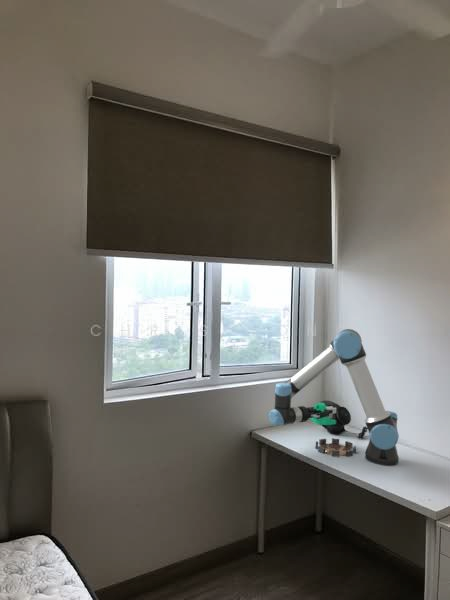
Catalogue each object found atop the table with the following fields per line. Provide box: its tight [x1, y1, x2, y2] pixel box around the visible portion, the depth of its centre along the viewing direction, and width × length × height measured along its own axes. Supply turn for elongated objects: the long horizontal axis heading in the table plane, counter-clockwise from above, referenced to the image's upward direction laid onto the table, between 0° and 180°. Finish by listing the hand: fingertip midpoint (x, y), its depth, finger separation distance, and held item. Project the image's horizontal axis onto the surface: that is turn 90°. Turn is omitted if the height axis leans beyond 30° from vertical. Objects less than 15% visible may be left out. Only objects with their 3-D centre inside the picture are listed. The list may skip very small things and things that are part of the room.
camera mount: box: [308, 402, 336, 426], centre depth 240 cm, size 12×8×10 cm, turn 29°
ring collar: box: [315, 437, 357, 458], centre depth 236 cm, size 19×19×2 cm
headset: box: [318, 400, 368, 440], centre depth 261 cm, size 18×14×29 cm
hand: (333, 409), depth 244 cm, fingers closed on camera mount, 2 cm apart
